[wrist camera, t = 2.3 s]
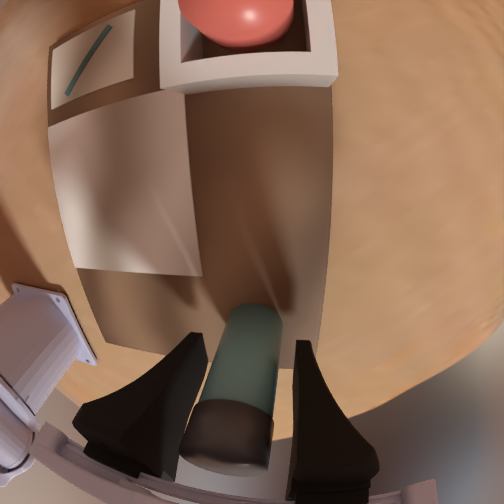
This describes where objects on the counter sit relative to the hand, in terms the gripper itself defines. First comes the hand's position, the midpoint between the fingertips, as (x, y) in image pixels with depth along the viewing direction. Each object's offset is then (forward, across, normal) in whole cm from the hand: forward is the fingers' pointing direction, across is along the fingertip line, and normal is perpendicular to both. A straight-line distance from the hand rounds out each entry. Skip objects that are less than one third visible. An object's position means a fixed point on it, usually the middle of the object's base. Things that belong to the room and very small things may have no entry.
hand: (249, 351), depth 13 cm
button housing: (+3, 0, -14) cm, 15 cm away
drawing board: (+3, +4, -7) cm, 9 cm away
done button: (0, 0, -15) cm, 15 cm away
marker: (+2, 0, 0) cm, 2 cm away
